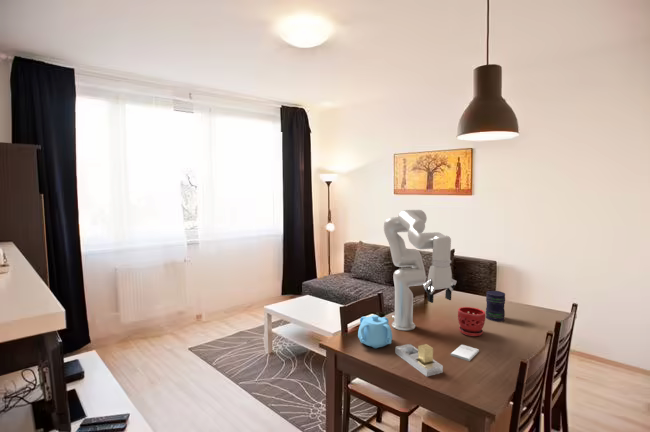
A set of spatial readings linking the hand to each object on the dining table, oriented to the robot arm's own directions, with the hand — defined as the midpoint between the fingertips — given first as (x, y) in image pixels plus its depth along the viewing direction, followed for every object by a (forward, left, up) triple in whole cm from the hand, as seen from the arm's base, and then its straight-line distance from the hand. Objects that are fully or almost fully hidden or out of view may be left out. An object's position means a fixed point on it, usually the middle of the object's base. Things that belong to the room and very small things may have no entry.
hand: (439, 300), depth 160 cm
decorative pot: (-21, -21, -25) cm, 39 cm away
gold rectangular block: (+8, -14, -25) cm, 29 cm away
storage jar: (-22, +59, -25) cm, 68 cm away
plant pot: (-12, +31, -25) cm, 42 cm away
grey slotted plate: (+3, -14, -25) cm, 28 cm away
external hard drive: (+5, +11, -25) cm, 28 cm away
